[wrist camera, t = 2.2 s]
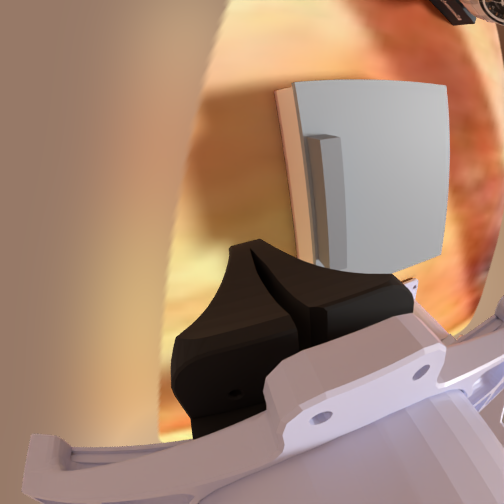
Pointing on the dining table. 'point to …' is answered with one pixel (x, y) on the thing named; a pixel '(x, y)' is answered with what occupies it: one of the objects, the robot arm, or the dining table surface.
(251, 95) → the dining table surface
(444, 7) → the watch
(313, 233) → the lid
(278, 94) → the box
